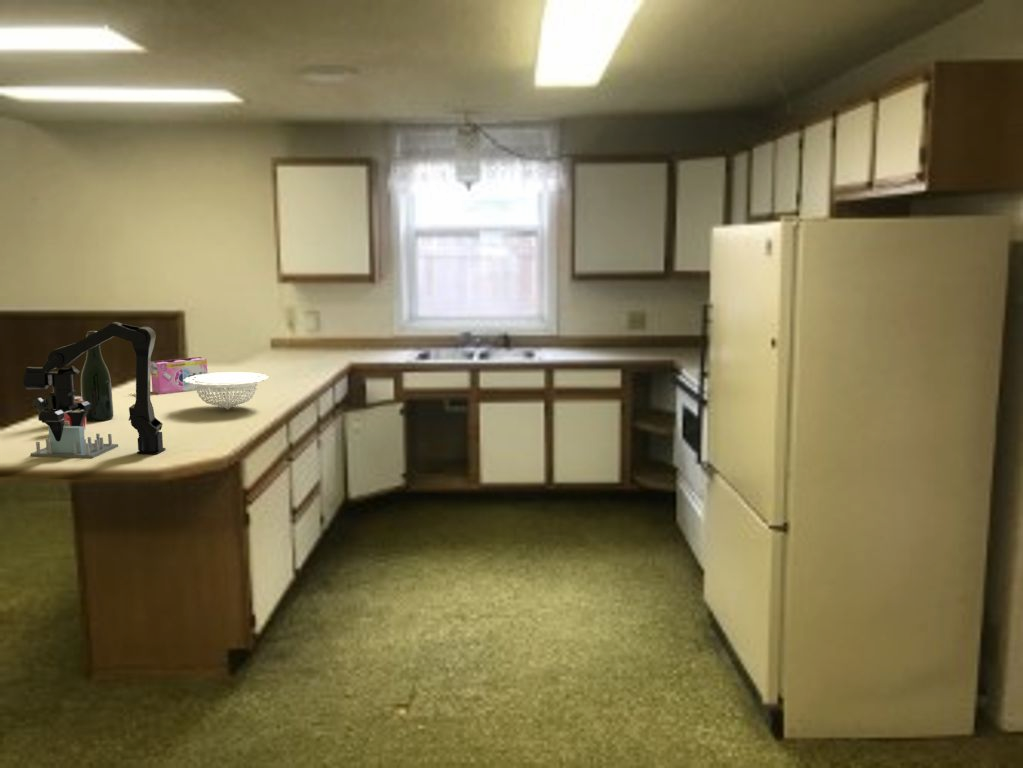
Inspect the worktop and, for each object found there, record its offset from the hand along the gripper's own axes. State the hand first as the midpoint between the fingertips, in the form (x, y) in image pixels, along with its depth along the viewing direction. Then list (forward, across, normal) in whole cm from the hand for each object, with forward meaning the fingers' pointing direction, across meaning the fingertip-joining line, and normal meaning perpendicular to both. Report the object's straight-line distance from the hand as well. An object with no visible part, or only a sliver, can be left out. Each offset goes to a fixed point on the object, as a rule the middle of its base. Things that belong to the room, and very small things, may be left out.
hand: (67, 437), depth 270 cm
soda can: (+6, -31, -16) cm, 35 cm away
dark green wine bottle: (+6, -51, -19) cm, 55 cm away
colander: (+6, -75, +21) cm, 78 cm away
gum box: (+6, -114, -17) cm, 115 cm away
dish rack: (+5, -4, 0) cm, 7 cm away
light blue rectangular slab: (+4, 0, 0) cm, 5 cm away
